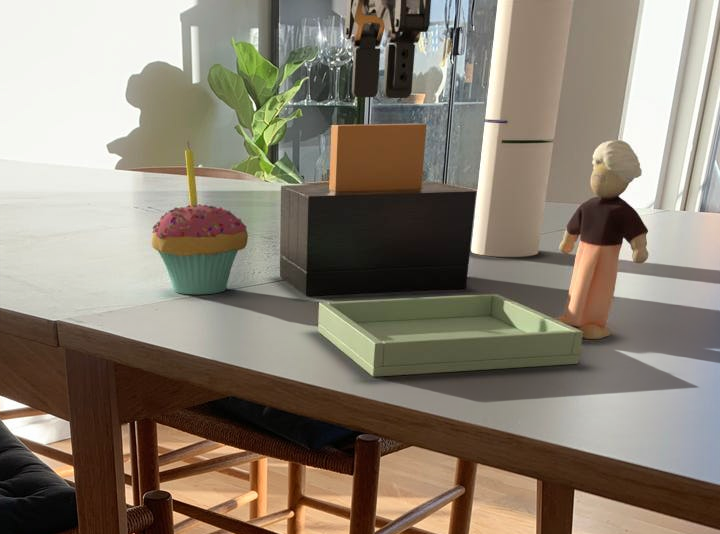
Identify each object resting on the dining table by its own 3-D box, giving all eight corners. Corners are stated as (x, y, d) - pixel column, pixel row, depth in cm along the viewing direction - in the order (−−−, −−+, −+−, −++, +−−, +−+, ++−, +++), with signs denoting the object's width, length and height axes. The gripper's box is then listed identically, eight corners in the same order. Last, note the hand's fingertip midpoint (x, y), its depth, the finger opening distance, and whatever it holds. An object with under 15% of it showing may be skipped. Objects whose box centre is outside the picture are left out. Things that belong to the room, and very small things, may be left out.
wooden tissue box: (437, 269, 94) (445, 180, 90) (478, 287, 86) (489, 190, 82) (279, 276, 91) (280, 185, 87) (305, 296, 83) (308, 196, 79)
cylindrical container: (497, 245, 108) (529, -21, 95) (551, 251, 103) (592, -27, 91) (457, 251, 104) (485, -25, 91) (511, 259, 99) (549, -32, 87)
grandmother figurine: (525, 328, 71) (553, 139, 65) (555, 321, 74) (584, 137, 67) (618, 347, 66) (657, 143, 60) (646, 338, 68) (688, 141, 62)
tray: (493, 321, 74) (497, 293, 73) (578, 364, 62) (583, 331, 61) (317, 331, 71) (318, 302, 70) (373, 377, 60) (375, 343, 59)
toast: (408, 256, 89) (418, 123, 83) (415, 259, 87) (426, 124, 82) (326, 259, 88) (331, 124, 82) (332, 263, 86) (337, 125, 80)
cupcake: (140, 286, 87) (131, 140, 81) (222, 278, 91) (219, 137, 85) (178, 302, 81) (171, 145, 75) (265, 293, 84) (265, 141, 78)
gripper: (479, -164, 67) (453, 98, 75) (409, -127, 79) (393, 96, 87) (378, -169, 66) (363, 99, 74) (322, -130, 78) (315, 97, 86)
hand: (379, 97), depth 81 cm, fingers open, 8 cm apart
